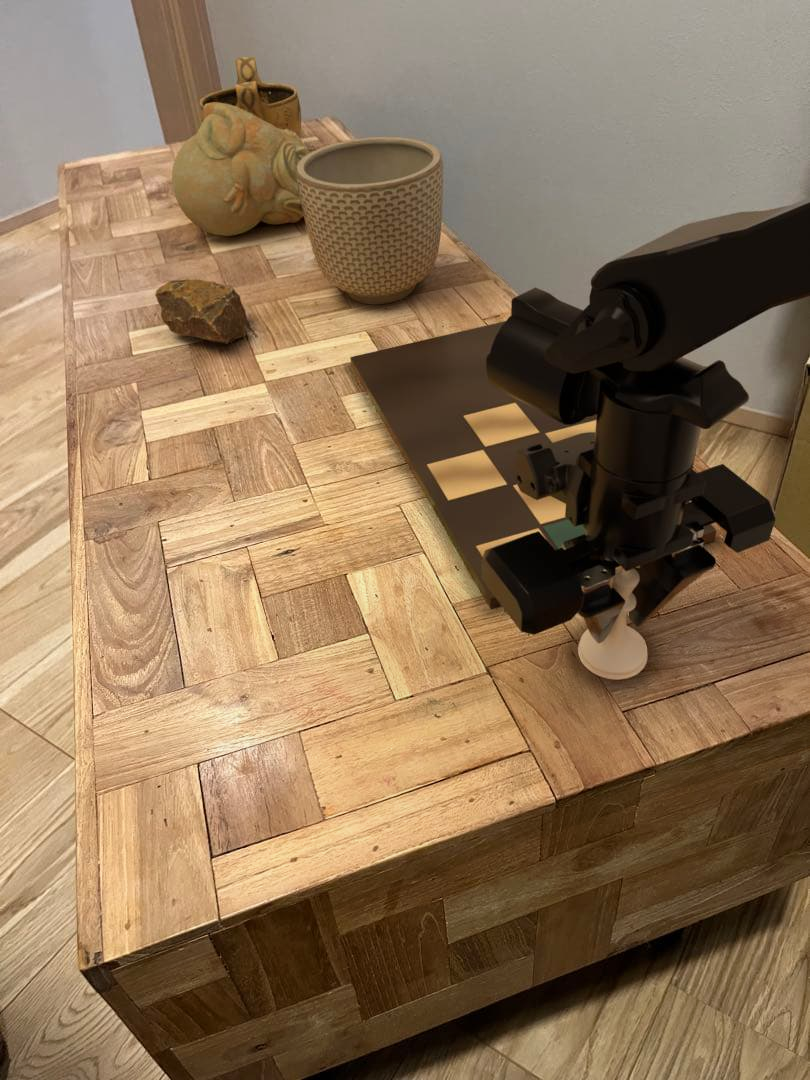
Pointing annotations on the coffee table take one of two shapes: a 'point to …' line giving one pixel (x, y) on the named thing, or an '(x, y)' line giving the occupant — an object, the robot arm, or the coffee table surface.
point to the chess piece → (617, 638)
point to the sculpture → (238, 172)
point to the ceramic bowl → (260, 98)
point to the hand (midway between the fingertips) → (615, 630)
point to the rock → (202, 310)
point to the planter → (373, 214)
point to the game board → (468, 442)
